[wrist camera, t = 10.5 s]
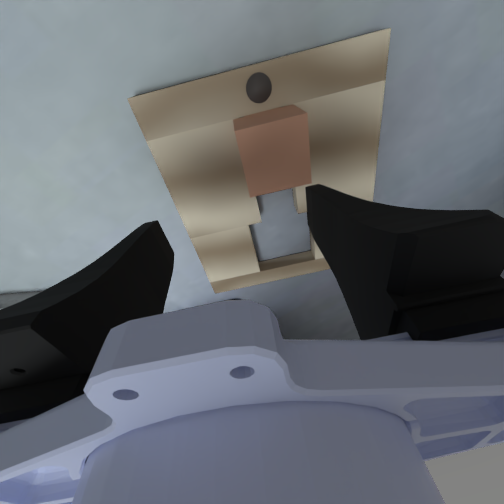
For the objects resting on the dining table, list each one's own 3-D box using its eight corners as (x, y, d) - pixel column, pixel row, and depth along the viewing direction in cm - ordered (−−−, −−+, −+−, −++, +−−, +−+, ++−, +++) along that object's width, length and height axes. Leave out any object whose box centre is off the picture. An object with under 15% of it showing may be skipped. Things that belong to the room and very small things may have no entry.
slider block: (293, 158, 20) (311, 183, 15) (244, 170, 20) (250, 197, 16) (287, 101, 17) (307, 112, 13) (232, 115, 17) (234, 131, 13)
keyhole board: (360, 252, 26) (366, 261, 25) (215, 283, 27) (215, 294, 26) (377, 30, 15) (391, 27, 14) (134, 96, 16) (126, 99, 15)
